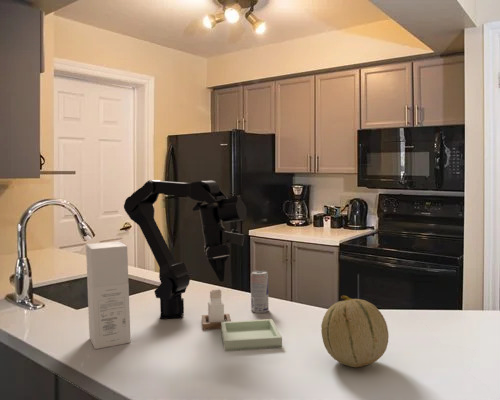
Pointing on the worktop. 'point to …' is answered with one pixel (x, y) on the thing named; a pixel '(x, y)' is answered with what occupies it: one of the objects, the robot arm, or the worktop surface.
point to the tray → (250, 335)
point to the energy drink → (259, 291)
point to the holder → (214, 324)
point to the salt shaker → (215, 307)
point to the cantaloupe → (354, 332)
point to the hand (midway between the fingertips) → (220, 278)
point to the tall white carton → (108, 294)
